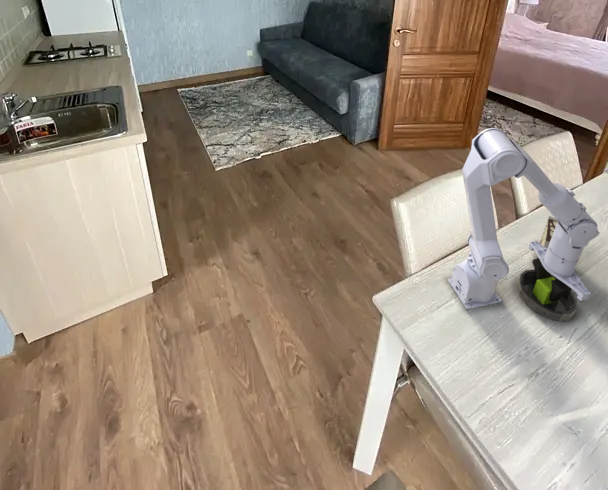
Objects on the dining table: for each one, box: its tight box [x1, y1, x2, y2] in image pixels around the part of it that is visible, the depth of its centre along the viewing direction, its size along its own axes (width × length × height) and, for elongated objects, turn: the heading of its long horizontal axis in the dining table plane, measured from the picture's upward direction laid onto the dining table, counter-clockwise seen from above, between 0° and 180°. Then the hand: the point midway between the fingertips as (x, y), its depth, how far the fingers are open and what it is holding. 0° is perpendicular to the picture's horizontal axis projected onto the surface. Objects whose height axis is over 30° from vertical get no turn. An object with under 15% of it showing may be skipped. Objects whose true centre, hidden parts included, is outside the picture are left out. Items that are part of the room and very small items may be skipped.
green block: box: [533, 277, 560, 305], centre depth 83 cm, size 4×3×4 cm
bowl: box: [516, 268, 578, 323], centre depth 84 cm, size 12×12×3 cm
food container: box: [539, 215, 558, 249], centre depth 93 cm, size 12×6×10 cm, turn 143°
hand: (547, 292), depth 84 cm, fingers closed on green block, 3 cm apart
